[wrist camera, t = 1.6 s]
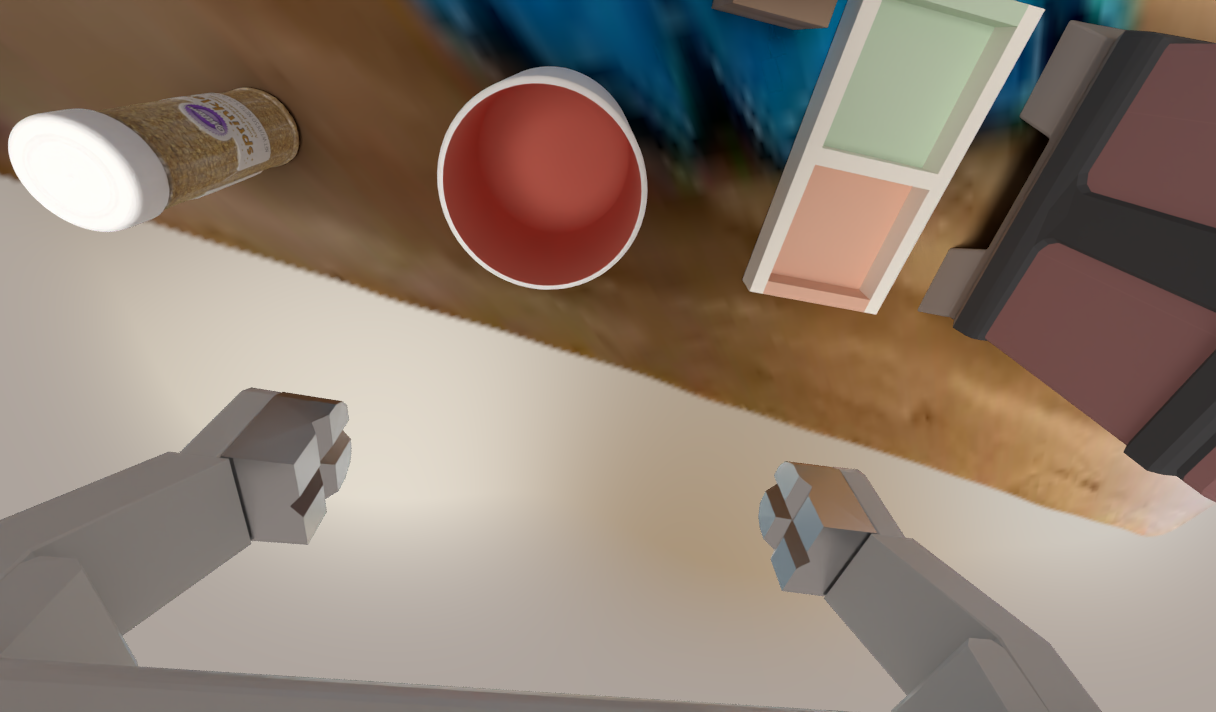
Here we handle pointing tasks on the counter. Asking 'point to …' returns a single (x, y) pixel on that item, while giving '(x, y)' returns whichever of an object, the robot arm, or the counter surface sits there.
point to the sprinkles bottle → (148, 154)
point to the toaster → (1112, 247)
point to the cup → (543, 179)
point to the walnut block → (782, 11)
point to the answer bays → (882, 143)
